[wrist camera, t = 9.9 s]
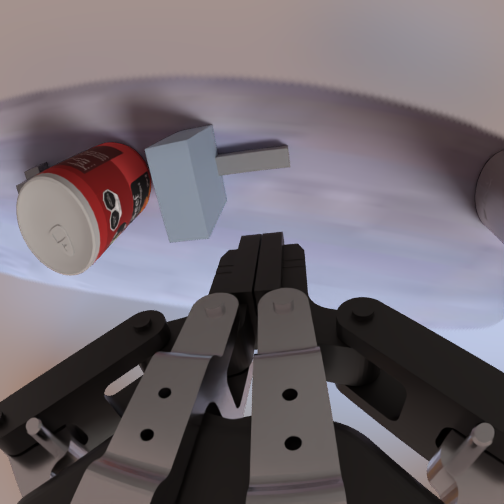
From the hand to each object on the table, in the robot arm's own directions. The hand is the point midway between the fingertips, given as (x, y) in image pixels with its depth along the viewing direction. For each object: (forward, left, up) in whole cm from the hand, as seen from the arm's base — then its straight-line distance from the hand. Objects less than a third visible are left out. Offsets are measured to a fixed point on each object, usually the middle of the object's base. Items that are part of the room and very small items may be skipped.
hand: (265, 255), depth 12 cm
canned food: (+15, 0, -17) cm, 23 cm away
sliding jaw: (+4, 0, -17) cm, 17 cm away
